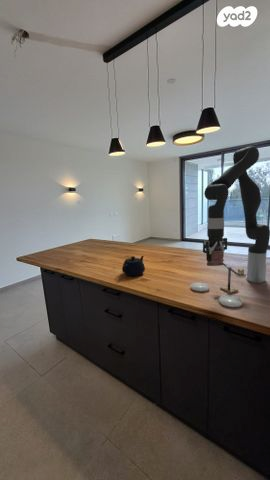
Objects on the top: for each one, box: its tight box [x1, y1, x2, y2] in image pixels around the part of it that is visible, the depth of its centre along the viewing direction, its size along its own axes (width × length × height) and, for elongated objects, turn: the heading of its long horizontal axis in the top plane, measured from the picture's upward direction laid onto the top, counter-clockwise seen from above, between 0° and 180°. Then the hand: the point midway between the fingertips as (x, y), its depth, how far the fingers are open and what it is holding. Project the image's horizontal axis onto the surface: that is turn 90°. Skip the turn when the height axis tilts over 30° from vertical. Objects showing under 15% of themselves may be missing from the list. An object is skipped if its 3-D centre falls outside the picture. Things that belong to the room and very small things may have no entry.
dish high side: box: [190, 282, 210, 292], centre depth 117 cm, size 10×10×2 cm
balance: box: [219, 258, 247, 295], centre depth 112 cm, size 5×18×16 cm, turn 27°
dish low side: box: [218, 294, 243, 308], centre depth 99 cm, size 10×10×2 cm
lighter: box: [206, 246, 225, 267], centre depth 105 cm, size 8×3×10 cm, turn 92°
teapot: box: [121, 255, 146, 277], centre depth 146 cm, size 25×16×12 cm, turn 145°
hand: (215, 259), depth 105 cm, fingers closed on lighter, 7 cm apart
